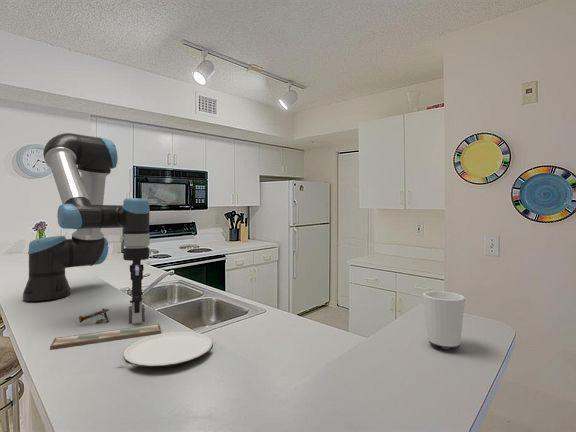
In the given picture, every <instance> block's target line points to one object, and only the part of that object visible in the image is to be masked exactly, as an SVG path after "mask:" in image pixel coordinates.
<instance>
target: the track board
mask: <svg viewBox="0 0 576 432" xmlns="http://www.w3.org/2000/svg"><path fill="white" fill-rule="evenodd" d="M158 334H162V329H161V325H160V323H157V324H148V325H141V326H140V325H139V326H131V327H126V328H119V329H118V328H117V329H111V330H104V331H96V332H89V333H82V334H75V335H74V334H73V335H67V336H61V337H60V336H59V337H58V336H57V337H55V338H54V339H53V340H52V343H51V344H50V346H49V350H51V351H52V350H58V349H64V348H65V349H66V348H69V347H71V348H72V347H78V346H83V345H91V344H98V343H104V342H109V341H110V342H111V341H117V340H125V339H126V340H127V339H131V338H139V337H145V336H153V335H158Z"/></svg>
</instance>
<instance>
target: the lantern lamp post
mask: <svg viewBox="0 0 576 432" xmlns="http://www.w3.org/2000/svg"><path fill="white" fill-rule="evenodd" d="M108 312H109V308H102V310H100V311H97V312H94V313H91V314H88V315H83V316H81V315H79V317H78V319H79V323H80V324H82V323H83V322H84V321H86V320H88V319H92V318H96V317H98V316H99V315H100V316H102V317H103V318H101V319H97V320H96V321H95V323H96V324H100V323H101V324H102V323H103V322H105V321H106V323H109V316H108V315H107V313H108Z"/></svg>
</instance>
